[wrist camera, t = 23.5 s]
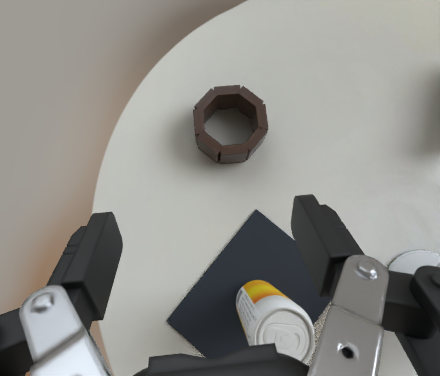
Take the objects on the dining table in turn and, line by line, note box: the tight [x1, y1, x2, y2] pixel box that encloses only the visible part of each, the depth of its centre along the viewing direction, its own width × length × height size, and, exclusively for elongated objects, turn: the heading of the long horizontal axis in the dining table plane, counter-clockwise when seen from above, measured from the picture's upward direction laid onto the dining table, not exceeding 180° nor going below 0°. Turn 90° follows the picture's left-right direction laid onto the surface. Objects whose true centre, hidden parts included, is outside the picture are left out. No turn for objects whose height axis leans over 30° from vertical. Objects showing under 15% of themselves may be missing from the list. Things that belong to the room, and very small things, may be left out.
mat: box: [167, 210, 330, 359], centre depth 39 cm, size 20×16×1 cm
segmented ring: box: [193, 85, 268, 164], centre depth 41 cm, size 10×10×4 cm
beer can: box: [236, 280, 315, 364], centre depth 31 cm, size 6×6×15 cm
